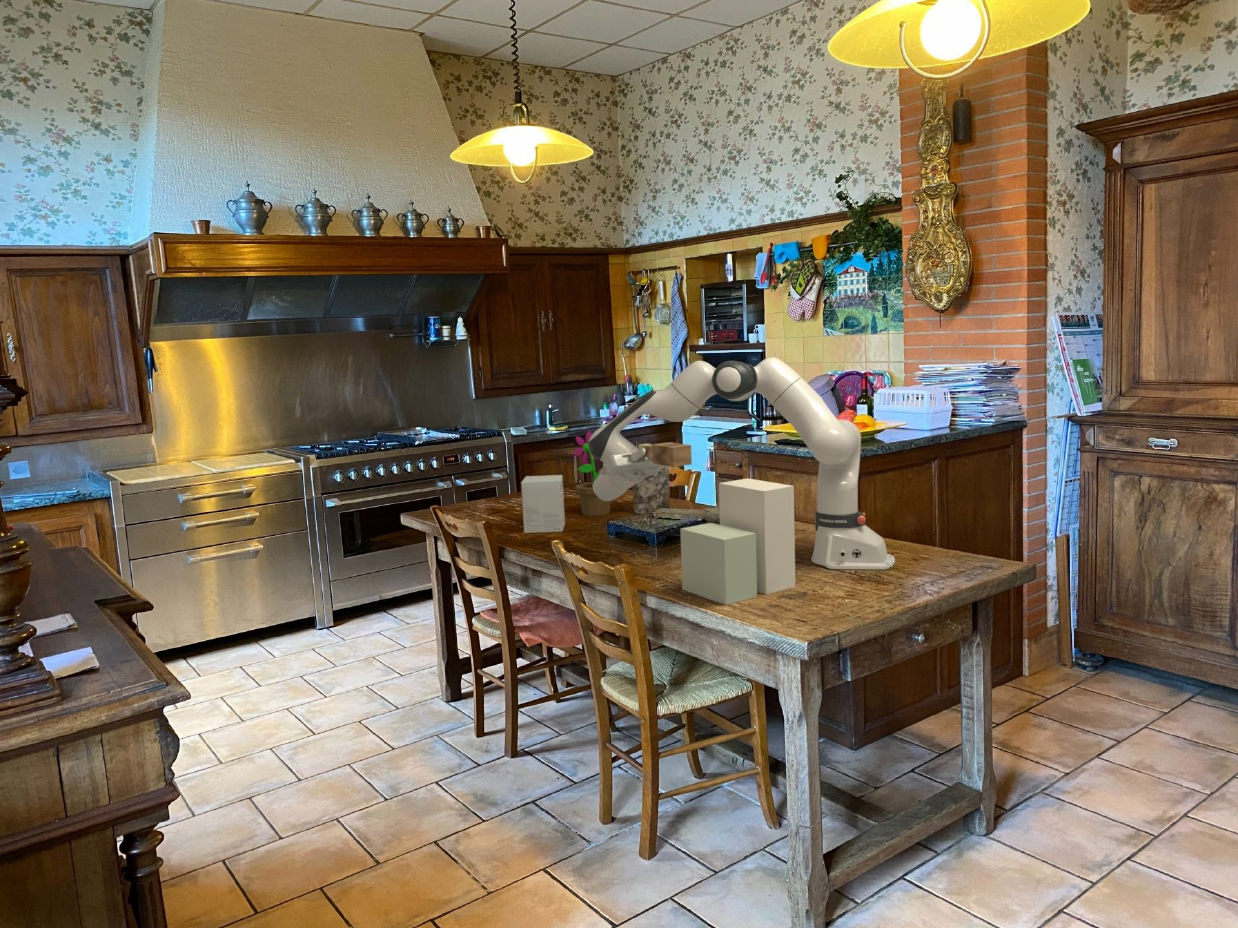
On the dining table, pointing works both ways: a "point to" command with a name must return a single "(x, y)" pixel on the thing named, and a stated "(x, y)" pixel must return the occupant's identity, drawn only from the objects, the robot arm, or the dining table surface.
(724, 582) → the stand
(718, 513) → the long grey stone
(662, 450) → the mallet
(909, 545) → the dining table surface
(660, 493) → the stone block
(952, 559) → the dining table surface
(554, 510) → the supplement box
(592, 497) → the flowerpot
